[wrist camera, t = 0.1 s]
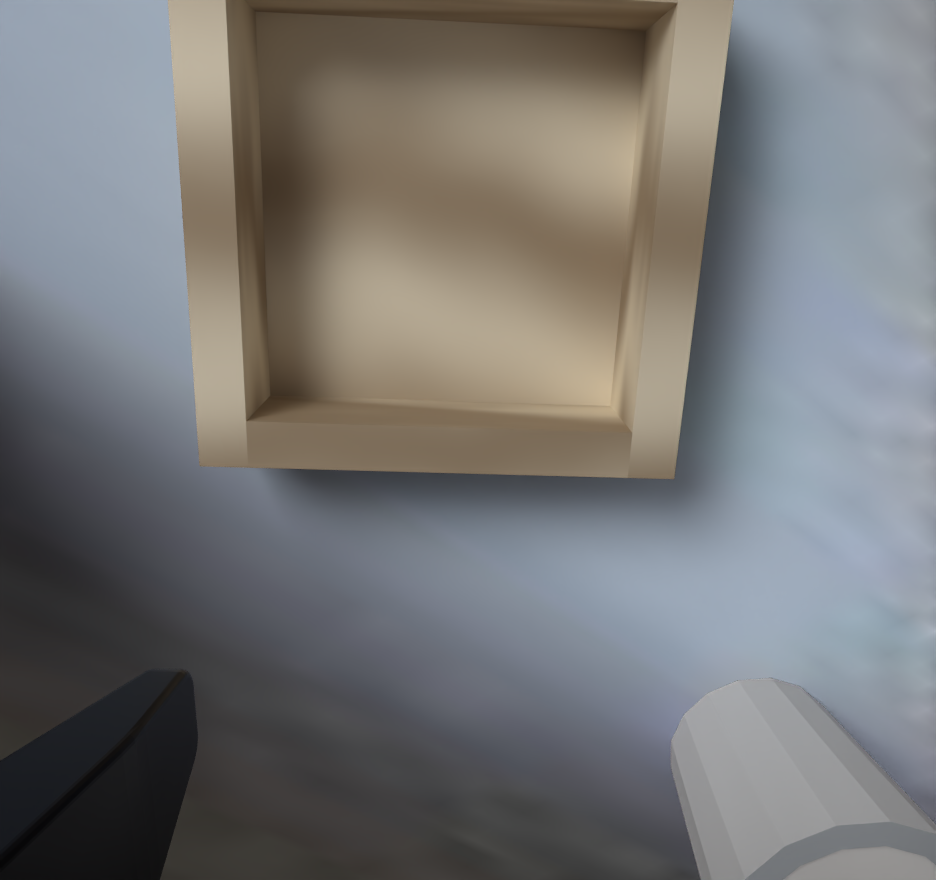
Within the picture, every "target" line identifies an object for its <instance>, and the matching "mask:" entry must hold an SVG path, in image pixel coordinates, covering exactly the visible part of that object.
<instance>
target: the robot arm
mask: <svg viewBox="0 0 936 880" xmlns="http://www.w3.org/2000/svg"><path fill="white" fill-rule="evenodd" d="M197 743H198V731H197V720H196V708H195V697H194V685H193V680H192V677H191V674H190V673H189V672H188V671H187V670H184V669H151V670H148V671H146V672H144V673H143V674H141V675H139V676H138V677H136V678H134V679H133V680H131V681H130V682H128V683H126V684H125V685H123V686H121V687H120V688H118V689H117V690H115V691H113V692H112V693H110V694H108V695H107V696H105V697H103V698H102V699H100V700H99V701H97V702H95V703H94V704H92V705H90V706H89V707H87V708H86V709H84V710H82V711H81V712H79V713H77V714H76V715H74V716H72V717H71V718H69V719H68V720H66V721H64V722H63V723H61V724H59V725H58V726H56V727H55V728H53V729H51V730H50V731H48V732H46V733H45V734H43V735H42V736H40V737H38V738H37V739H35V740H33V741H32V742H30V743H28V744H27V745H25V746H24V747H22V748H20V749H19V750H17V751H15V752H14V753H12V754H11V755H9V756H7V757H6V758H4V759H2V760H1V761H0V880H160V877H161V874H162V870H163V867H164V864H165V860H166V857H167V853H168V850H169V846H170V843H171V839H172V836H173V833H174V829H175V826H176V822H177V819H178V815H179V812H180V808H181V805H182V802H183V798H184V795H185V791H186V788H187V784H188V781H189V777H190V774H191V771H192V767H193V764H194V760H195V756H196V751H197Z"/></svg>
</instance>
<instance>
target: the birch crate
mask: <svg viewBox="0 0 936 880" xmlns="http://www.w3.org/2000/svg"><path fill="white" fill-rule="evenodd" d="M733 4H734V0H168V8H169V23H170V37H171V52H172V67H173V81H174V96H175V111H176V126H177V140H178V155H179V170H180V184H181V199H182V214H183V228H184V243H185V258H186V272H187V287H188V302H189V316H190V331H191V346H192V361H193V375H194V390H195V405H196V419H197V434H198V449H199V463H200V466H210V467H247V468H283V469H320V470H357V471H393V472H430V473H467V474H503V475H540V476H577V477H613V478H650V479H674V477H675V469H676V460H677V452H678V444H679V436H680V428H681V420H682V412H683V404H684V396H685V388H686V380H687V372H688V364H689V356H690V348H691V340H692V332H693V324H694V316H695V308H696V300H697V292H698V284H699V276H700V268H701V260H702V252H703V244H704V236H705V228H706V220H707V212H708V204H709V196H710V188H711V180H712V172H713V164H714V156H715V148H716V140H717V132H718V124H719V116H720V108H721V100H722V92H723V84H724V76H725V68H726V60H727V52H728V44H729V36H730V28H731V20H732V12H733Z"/></svg>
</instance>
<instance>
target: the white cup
mask: <svg viewBox="0 0 936 880" xmlns="http://www.w3.org/2000/svg"><path fill="white" fill-rule="evenodd" d="M671 770H672V774H673V777H674V781H675V785H676V789H677V792H678V796H679V800H680V804H681V807H682V811H683V815H684V819H685V822H686V826H687V830H688V834H689V837H690V841H691V845H692V848H693V852H694V856H695V860H696V863H697V867H698V871H699V875H700V878H701V880H936V824H935V823H934V822H933V821H932V820H931V819H930V818H929V817H928V816H927V815H926V814H925V813H924V812H923V811H922V810H921V809H920V808H919V807H918V805H917V804H916V803H915V802H914V801H913V800H912V799H911V798H910V797H909V796H908V795H907V794H906V793H905V792H904V791H903V790H902V789H901V788H900V787H899V786H898V784H897V783H896V782H895V781H894V780H893V779H892V778H891V777H890V776H889V775H888V774H887V773H886V772H885V771H884V770H883V769H882V768H881V767H880V766H879V765H878V763H877V762H876V761H875V760H874V759H873V758H872V757H871V756H870V755H869V754H868V753H867V752H866V751H865V750H864V749H863V748H862V747H861V746H860V745H859V744H858V742H857V741H856V740H855V739H854V738H853V737H852V736H851V735H850V734H849V733H848V732H847V731H846V730H845V729H844V728H843V727H842V726H841V725H840V724H839V723H838V721H837V720H836V719H835V718H834V717H833V716H832V715H831V714H830V713H829V712H828V711H827V710H826V709H825V708H824V707H823V706H822V705H821V704H820V703H819V702H818V701H817V700H815V699H814V698H813V697H812V696H811V695H809V694H808V693H807V692H806V691H805V690H804V689H802V688H801V687H800V686H797V685H793V684H790V683H786V682H783V681H779V680H776V679H773V678H762V679H748V680H737V681H735V682H733V683H730V684H728V685H726V686H723V687H721V688H718V689H716V690H714V691H711V692H709V693H707V694H706V695H705V696H704V697H703V698H702V699H700V700H699V701H698V702H697V703H696V704H695V705H694V706H693V707H692V708H691V709H689V710H688V711H687V712H686V713H685V714H684V715H683V717H682V719H681V721H680V723H679V725H678V728H677V730H676V732H675V734H674V736H673V738H672V740H671Z"/></svg>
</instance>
